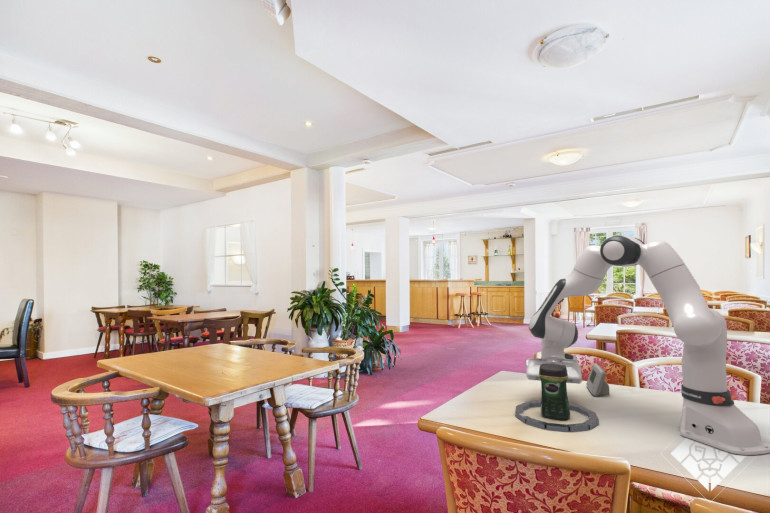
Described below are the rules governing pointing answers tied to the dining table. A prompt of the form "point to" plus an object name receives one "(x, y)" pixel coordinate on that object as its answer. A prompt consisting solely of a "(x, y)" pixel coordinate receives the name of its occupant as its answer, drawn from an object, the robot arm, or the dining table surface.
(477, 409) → the dining table surface
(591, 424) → the grey segmented ring
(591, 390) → the digital clock
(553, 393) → the coffee jar
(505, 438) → the dining table surface
